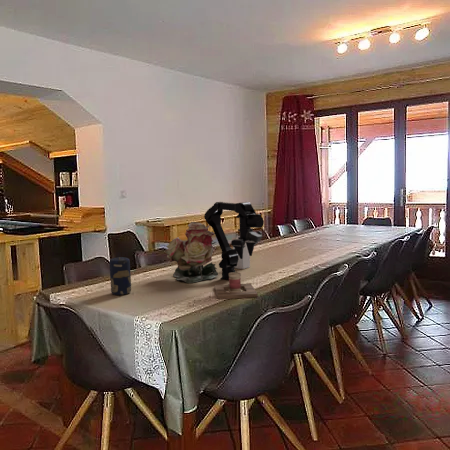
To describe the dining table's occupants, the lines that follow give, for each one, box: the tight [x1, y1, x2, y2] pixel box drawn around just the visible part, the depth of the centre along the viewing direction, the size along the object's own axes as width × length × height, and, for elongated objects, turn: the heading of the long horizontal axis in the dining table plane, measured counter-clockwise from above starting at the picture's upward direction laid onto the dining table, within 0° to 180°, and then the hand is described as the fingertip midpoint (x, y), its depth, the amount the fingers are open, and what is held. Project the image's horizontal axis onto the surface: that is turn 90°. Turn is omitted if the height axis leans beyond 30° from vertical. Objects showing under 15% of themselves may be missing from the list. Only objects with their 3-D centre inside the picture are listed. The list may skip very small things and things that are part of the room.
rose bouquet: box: [164, 221, 219, 284], centre depth 239 cm, size 26×29×30 cm
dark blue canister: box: [108, 256, 132, 296], centre depth 211 cm, size 10×10×18 cm
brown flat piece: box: [213, 282, 259, 300], centre depth 208 cm, size 20×18×2 cm
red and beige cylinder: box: [228, 271, 242, 292], centre depth 208 cm, size 6×6×9 cm
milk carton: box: [232, 235, 251, 270], centre depth 264 cm, size 7×7×19 cm
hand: (246, 257), depth 226 cm, fingers open, 9 cm apart
